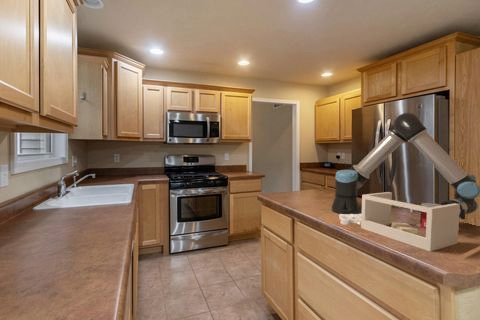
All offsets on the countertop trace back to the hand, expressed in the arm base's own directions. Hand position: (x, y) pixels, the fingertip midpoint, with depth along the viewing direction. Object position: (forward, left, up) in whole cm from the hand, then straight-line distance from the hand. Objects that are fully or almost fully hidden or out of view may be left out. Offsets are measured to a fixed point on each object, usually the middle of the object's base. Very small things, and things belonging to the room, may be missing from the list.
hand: (427, 212), depth 112 cm
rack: (+1, -16, -8) cm, 18 cm away
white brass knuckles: (-22, -17, -9) cm, 29 cm away
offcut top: (+1, -18, -5) cm, 19 cm away
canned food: (0, +3, -8) cm, 9 cm away
